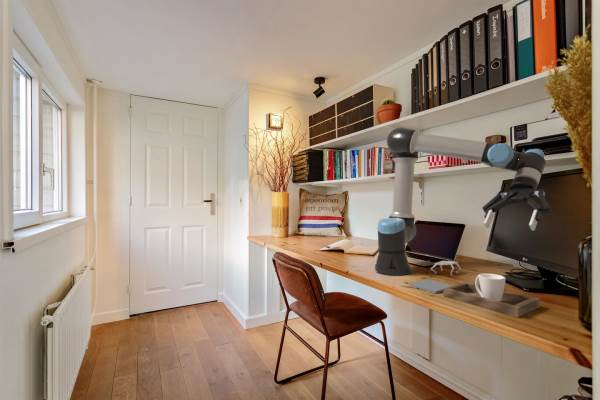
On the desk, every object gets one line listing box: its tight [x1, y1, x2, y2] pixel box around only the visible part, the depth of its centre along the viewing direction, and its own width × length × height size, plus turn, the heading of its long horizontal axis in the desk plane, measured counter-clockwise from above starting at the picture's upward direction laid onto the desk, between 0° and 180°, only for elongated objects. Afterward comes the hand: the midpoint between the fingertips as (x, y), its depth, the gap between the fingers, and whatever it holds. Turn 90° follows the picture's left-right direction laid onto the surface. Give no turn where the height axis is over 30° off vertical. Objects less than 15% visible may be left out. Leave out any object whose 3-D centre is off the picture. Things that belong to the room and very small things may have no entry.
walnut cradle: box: [443, 281, 540, 318], centre depth 89 cm, size 21×13×2 cm, turn 31°
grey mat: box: [407, 278, 454, 294], centre depth 104 cm, size 11×11×1 cm
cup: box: [474, 273, 507, 302], centre depth 89 cm, size 7×10×8 cm
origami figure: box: [430, 260, 462, 276], centre depth 123 cm, size 12×8×5 cm
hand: (507, 226), depth 98 cm, fingers open, 13 cm apart
